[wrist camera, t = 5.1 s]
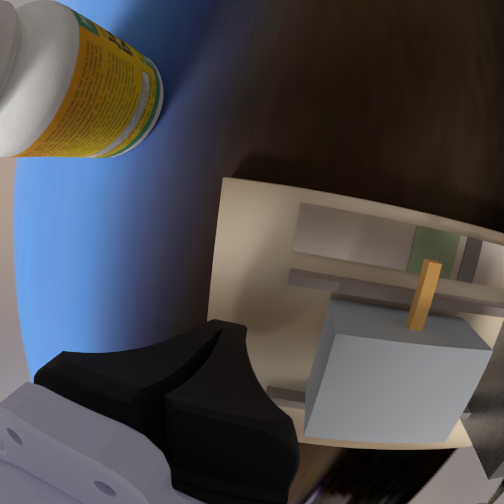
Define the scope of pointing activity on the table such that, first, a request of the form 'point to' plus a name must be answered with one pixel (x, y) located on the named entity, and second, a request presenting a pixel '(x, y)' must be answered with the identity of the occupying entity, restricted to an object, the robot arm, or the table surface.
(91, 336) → the table surface
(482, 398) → the grey slanted slab
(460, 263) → the gauge board
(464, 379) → the block
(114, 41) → the supplement bottle
